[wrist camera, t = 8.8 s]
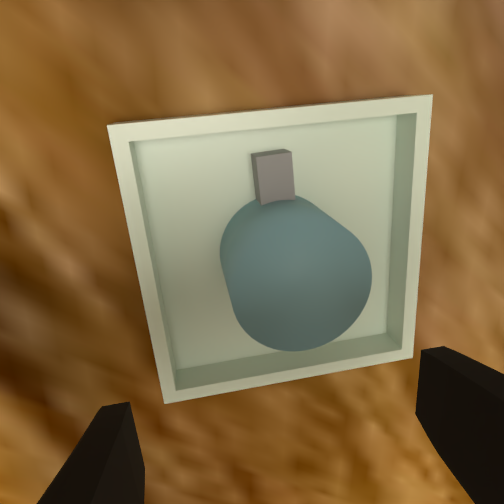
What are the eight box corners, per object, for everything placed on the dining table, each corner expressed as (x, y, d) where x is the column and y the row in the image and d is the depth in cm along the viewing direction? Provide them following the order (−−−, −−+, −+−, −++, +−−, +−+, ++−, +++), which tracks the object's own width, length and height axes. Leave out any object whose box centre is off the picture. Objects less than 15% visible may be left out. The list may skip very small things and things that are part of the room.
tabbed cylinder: (335, 291, 19) (372, 336, 15) (228, 311, 19) (240, 363, 15) (328, 142, 17) (371, 153, 13) (204, 160, 16) (212, 177, 12)
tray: (392, 335, 21) (412, 357, 19) (165, 375, 20) (164, 404, 18) (404, 95, 17) (432, 94, 15) (115, 122, 15) (106, 125, 14)
